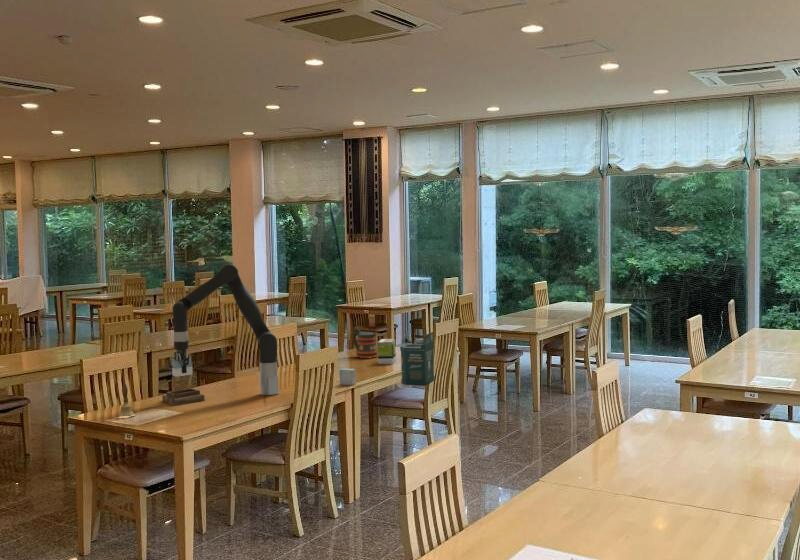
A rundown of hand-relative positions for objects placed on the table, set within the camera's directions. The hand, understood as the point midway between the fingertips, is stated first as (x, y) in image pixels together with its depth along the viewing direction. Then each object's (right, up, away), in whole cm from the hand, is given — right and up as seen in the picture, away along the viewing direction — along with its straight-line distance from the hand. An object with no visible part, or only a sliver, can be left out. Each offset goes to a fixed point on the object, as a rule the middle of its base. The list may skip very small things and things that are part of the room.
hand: (182, 372), depth 417 cm
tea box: (+105, -6, +109) cm, 152 cm away
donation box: (+123, -10, +34) cm, 128 cm away
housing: (0, -1, 0) cm, 1 cm away
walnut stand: (0, -15, +1) cm, 15 cm away
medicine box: (+84, -11, +34) cm, 92 cm away
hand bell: (-18, -18, -34) cm, 42 cm away
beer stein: (+89, -5, +134) cm, 161 cm away
